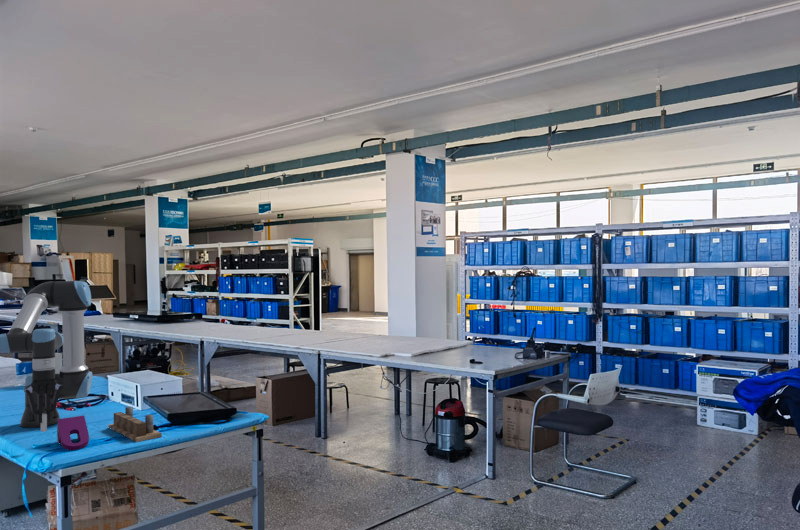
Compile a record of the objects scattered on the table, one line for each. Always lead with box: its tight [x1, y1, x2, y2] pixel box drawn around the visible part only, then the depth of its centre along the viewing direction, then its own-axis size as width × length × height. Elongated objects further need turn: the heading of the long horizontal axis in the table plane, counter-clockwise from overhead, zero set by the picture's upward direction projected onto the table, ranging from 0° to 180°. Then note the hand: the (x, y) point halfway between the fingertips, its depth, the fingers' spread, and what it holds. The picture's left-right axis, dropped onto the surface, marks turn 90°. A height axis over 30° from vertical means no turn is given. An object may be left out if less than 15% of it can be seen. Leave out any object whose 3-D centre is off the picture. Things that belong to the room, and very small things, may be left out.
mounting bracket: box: [56, 415, 90, 451], centre depth 228 cm, size 9×8×18 cm
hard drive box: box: [32, 352, 63, 374], centre depth 354 cm, size 16×8×20 cm, turn 74°
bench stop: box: [107, 406, 163, 443], centre depth 244 cm, size 32×10×8 cm, turn 45°
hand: (43, 430), depth 220 cm, fingers closed
